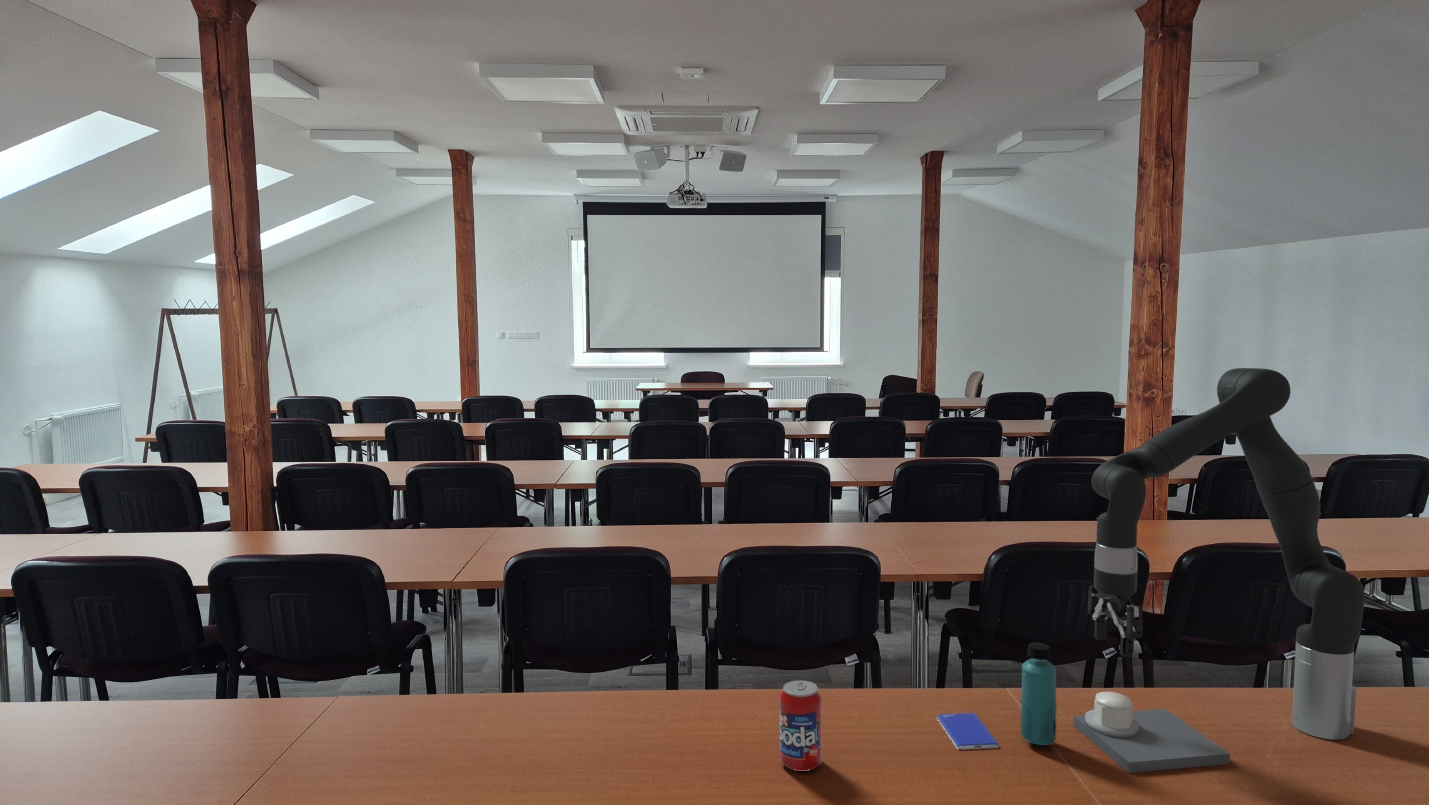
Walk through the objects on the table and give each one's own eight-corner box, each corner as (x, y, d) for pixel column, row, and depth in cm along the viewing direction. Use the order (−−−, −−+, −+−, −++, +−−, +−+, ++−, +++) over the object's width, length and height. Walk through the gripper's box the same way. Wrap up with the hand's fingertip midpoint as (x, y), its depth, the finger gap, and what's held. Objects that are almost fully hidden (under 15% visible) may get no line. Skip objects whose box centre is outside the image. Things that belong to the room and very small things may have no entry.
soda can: (825, 757, 156) (825, 681, 155) (817, 778, 149) (816, 699, 148) (785, 750, 159) (785, 676, 158) (775, 771, 152) (774, 693, 150)
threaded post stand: (1164, 718, 169) (1165, 688, 169) (1229, 764, 152) (1230, 730, 151) (1073, 725, 167) (1074, 695, 166) (1128, 773, 149) (1129, 739, 149)
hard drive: (936, 714, 171) (957, 745, 158) (975, 712, 171) (999, 743, 159) (936, 721, 171) (957, 752, 158) (975, 719, 171) (998, 750, 159)
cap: (1099, 710, 167) (1100, 688, 166) (1134, 719, 163) (1135, 697, 162) (1091, 722, 162) (1091, 700, 161) (1126, 732, 158) (1127, 709, 157)
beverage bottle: (1059, 754, 156) (1061, 652, 154) (1022, 751, 157) (1024, 650, 155) (1052, 737, 162) (1054, 639, 160) (1016, 734, 164) (1018, 637, 162)
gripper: (1157, 576, 153) (1154, 660, 155) (1111, 555, 167) (1109, 632, 169) (1119, 578, 152) (1117, 663, 154) (1077, 557, 166) (1075, 635, 168)
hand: (1113, 647), depth 161 cm, fingers open, 8 cm apart
